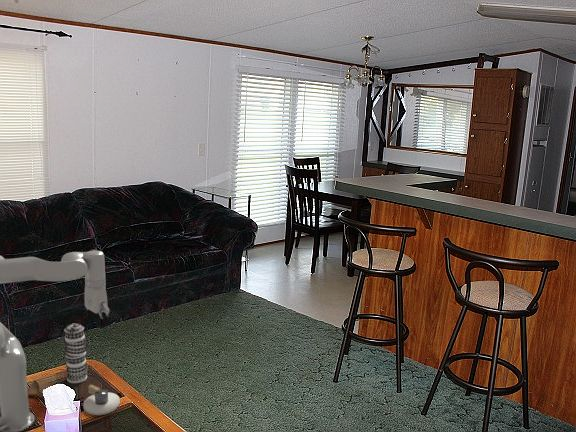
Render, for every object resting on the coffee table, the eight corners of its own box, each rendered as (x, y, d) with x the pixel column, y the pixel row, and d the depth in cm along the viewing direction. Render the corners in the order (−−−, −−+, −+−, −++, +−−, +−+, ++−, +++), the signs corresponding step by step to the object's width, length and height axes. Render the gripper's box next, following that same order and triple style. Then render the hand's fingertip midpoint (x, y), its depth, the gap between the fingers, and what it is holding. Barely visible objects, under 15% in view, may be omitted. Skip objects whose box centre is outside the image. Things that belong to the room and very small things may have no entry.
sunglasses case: (20, 396, 226) (25, 379, 228) (31, 396, 233) (36, 380, 235) (58, 404, 222) (63, 387, 224) (68, 403, 229) (72, 387, 230)
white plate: (121, 411, 219) (121, 407, 219) (84, 418, 214) (84, 414, 213) (118, 392, 231) (117, 389, 231) (82, 399, 226) (82, 395, 226)
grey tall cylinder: (70, 386, 235) (67, 332, 229) (62, 377, 242) (59, 325, 236) (91, 379, 241) (88, 326, 235) (83, 370, 248) (80, 319, 242)
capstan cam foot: (110, 400, 223) (110, 390, 222) (100, 406, 219) (100, 395, 218) (95, 392, 228) (94, 382, 227) (85, 398, 224) (84, 387, 222)
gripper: (75, 278, 216) (78, 318, 220) (97, 290, 205) (100, 332, 209) (93, 274, 222) (95, 313, 226) (115, 285, 210) (117, 326, 214)
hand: (97, 322), depth 217 cm, fingers open, 9 cm apart
